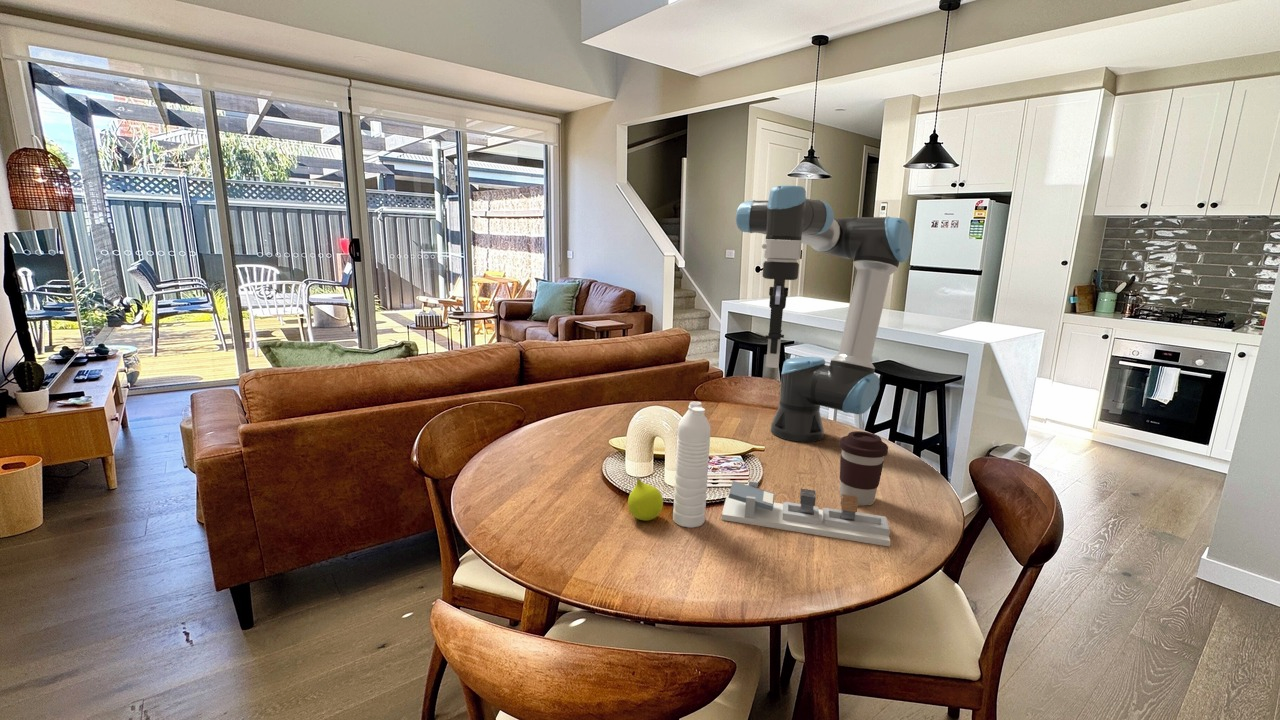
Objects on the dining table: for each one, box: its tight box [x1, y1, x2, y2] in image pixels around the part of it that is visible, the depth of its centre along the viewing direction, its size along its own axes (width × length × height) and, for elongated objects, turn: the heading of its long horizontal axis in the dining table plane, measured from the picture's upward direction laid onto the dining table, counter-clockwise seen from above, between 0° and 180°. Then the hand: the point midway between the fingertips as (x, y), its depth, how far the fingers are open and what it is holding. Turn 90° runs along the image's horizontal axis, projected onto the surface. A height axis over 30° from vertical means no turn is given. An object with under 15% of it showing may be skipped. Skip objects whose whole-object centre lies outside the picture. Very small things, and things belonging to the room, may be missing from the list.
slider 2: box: [840, 494, 859, 521], centre depth 112 cm, size 3×3×5 cm
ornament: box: [627, 475, 664, 522], centre depth 113 cm, size 7×7×10 cm
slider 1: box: [799, 488, 817, 515], centre depth 114 cm, size 3×3×5 cm
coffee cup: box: [839, 430, 889, 507], centre depth 125 cm, size 10×10×15 cm
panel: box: [721, 479, 891, 548], centre depth 114 cm, size 9×32×6 cm, turn 75°
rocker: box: [728, 480, 775, 511], centre depth 117 cm, size 7×9×1 cm
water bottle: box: [672, 400, 712, 529], centre depth 110 cm, size 9×6×25 cm
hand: (772, 366), depth 126 cm, fingers closed
